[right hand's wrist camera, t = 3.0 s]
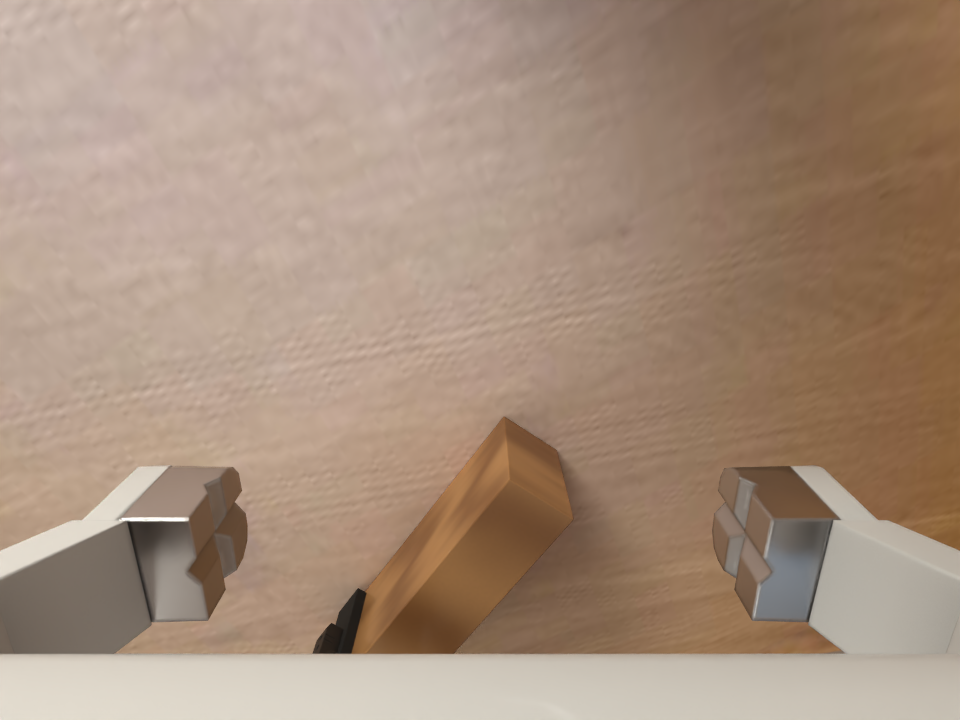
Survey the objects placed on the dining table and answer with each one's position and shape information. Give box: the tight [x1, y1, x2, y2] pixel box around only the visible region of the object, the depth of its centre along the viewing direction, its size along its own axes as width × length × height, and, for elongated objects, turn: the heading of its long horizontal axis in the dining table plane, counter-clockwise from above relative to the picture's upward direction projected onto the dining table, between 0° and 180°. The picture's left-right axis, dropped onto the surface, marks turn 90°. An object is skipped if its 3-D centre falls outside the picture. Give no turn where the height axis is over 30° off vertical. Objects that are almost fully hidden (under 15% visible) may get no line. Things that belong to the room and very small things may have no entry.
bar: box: [352, 417, 574, 654], centre depth 40 cm, size 23×4×8 cm, turn 145°
